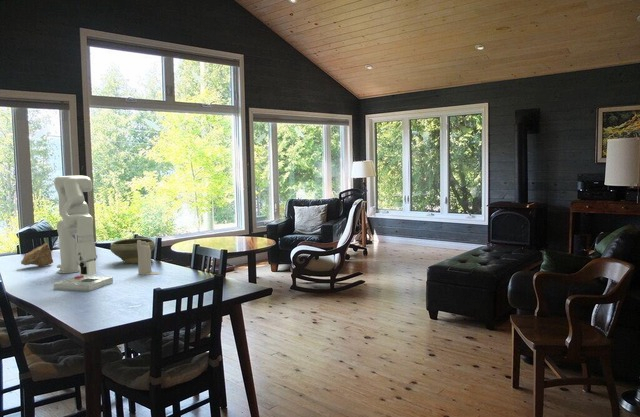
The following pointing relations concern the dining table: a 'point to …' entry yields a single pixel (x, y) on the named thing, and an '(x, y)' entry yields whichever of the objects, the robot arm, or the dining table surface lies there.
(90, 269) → the plug
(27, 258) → the stone
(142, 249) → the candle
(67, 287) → the socket plate
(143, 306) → the dining table surface
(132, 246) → the bowl
